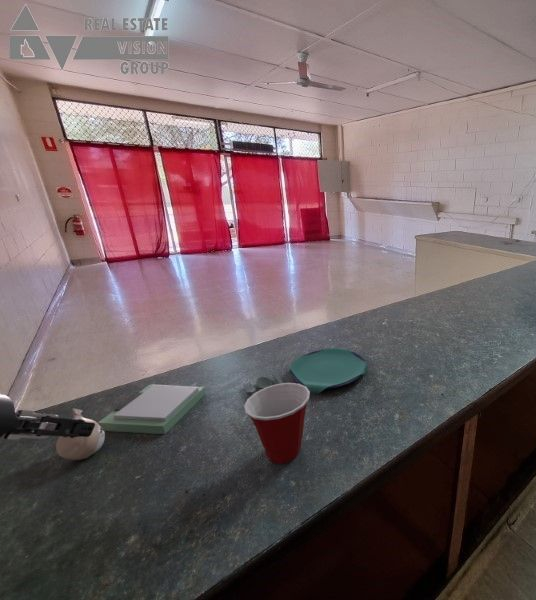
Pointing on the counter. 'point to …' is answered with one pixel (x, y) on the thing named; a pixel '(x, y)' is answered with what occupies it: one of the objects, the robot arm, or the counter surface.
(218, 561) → the counter surface
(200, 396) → the scale
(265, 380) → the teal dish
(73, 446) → the garlic bulb
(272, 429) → the plastic cup
